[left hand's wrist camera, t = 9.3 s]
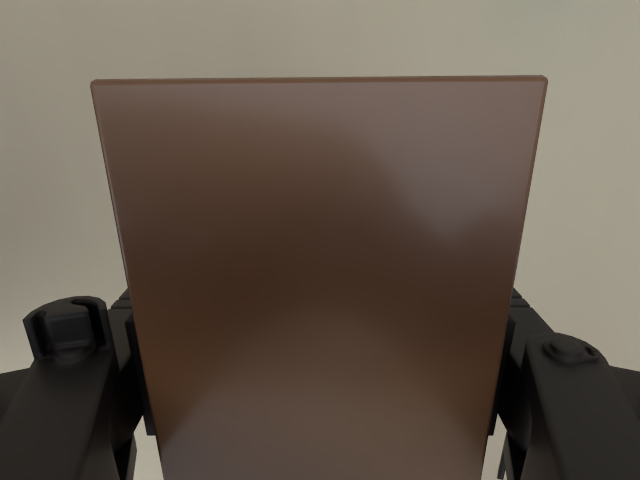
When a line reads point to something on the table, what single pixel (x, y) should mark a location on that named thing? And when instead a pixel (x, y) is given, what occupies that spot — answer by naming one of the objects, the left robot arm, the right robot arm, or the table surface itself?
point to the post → (320, 266)
